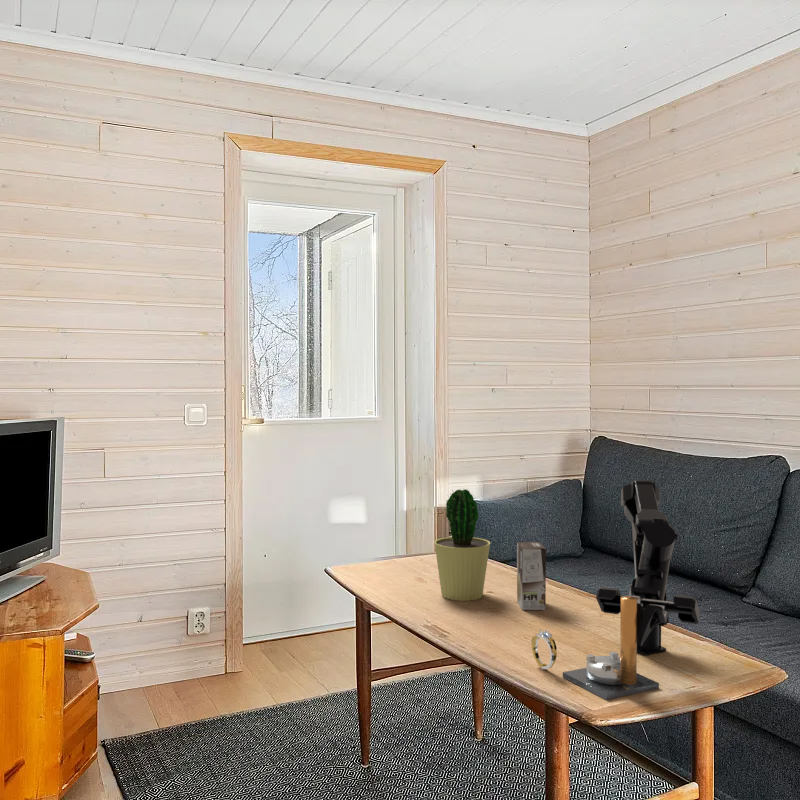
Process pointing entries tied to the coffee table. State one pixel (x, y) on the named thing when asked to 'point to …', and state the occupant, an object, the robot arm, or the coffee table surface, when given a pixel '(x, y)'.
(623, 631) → the brown rod on base
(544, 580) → the coffee box
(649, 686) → the plate
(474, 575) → the potted cactus
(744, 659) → the coffee table surface
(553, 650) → the ring
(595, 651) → the coffee table surface
